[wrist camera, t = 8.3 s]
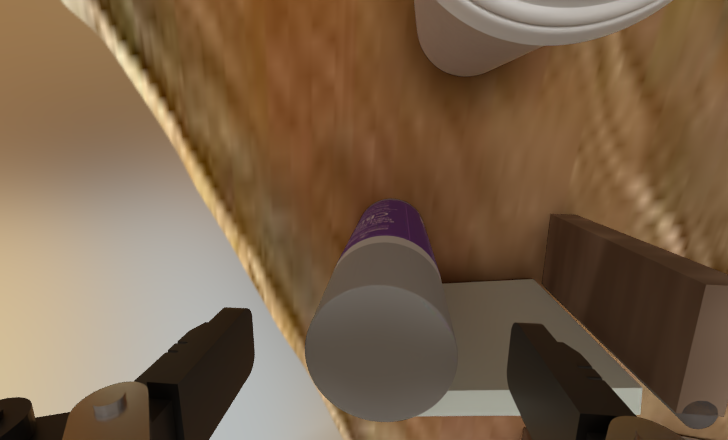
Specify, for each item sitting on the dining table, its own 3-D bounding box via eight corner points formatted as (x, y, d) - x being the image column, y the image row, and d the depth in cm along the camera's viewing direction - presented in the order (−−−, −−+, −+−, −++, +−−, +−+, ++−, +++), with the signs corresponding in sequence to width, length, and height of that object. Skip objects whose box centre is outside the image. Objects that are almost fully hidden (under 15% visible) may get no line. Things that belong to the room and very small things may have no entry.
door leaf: (533, 279, 24) (642, 387, 13) (533, 295, 24) (640, 414, 13) (389, 286, 25) (382, 391, 14) (390, 301, 25) (385, 416, 15)
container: (384, 184, 24) (362, 247, 9) (438, 224, 24) (498, 347, 9) (345, 236, 25) (270, 365, 10) (397, 274, 25) (395, 453, 10)
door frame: (575, 214, 23) (759, 287, 11) (534, 501, 28) (631, 755, 16) (550, 214, 23) (705, 284, 11) (514, 499, 28) (596, 749, 17)
